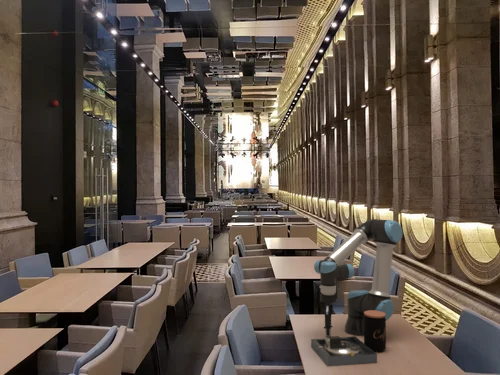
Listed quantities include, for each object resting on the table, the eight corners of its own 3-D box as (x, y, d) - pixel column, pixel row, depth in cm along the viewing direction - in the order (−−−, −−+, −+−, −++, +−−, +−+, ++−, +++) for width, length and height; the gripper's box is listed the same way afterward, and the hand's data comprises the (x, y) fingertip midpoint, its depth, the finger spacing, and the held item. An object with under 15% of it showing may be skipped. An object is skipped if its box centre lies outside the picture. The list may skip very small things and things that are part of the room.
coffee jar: (374, 354, 200) (374, 317, 200) (359, 347, 209) (359, 311, 209) (390, 350, 205) (390, 314, 205) (375, 343, 214) (374, 309, 214)
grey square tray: (355, 343, 214) (355, 335, 214) (377, 362, 190) (376, 352, 190) (311, 346, 210) (311, 337, 210) (327, 366, 186) (327, 356, 186)
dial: (351, 342, 210) (351, 329, 210) (366, 355, 193) (366, 341, 193) (320, 344, 207) (319, 331, 207) (332, 357, 190) (332, 343, 190)
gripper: (321, 290, 210) (321, 336, 210) (319, 296, 197) (319, 345, 197) (336, 290, 208) (336, 337, 207) (334, 297, 195) (335, 346, 195)
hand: (328, 341), depth 202 cm, fingers closed
